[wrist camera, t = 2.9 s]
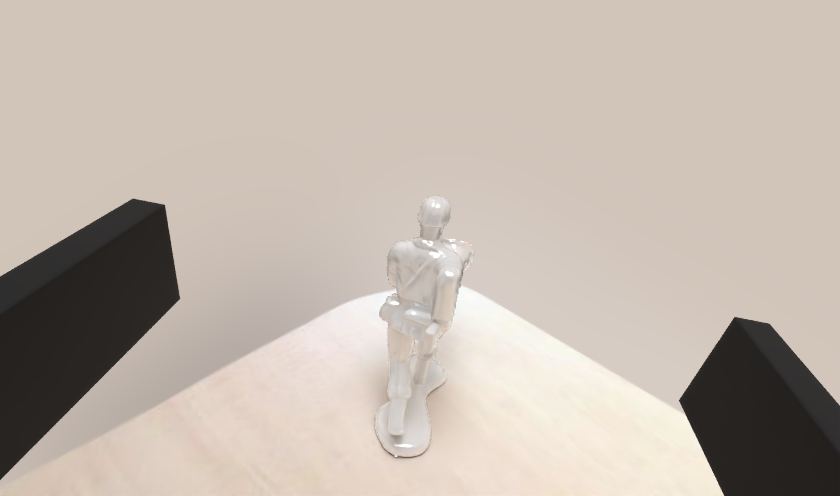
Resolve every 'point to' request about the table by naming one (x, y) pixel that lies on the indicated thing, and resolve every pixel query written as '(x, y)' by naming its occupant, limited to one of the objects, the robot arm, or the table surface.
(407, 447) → the figurine
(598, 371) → the table surface
